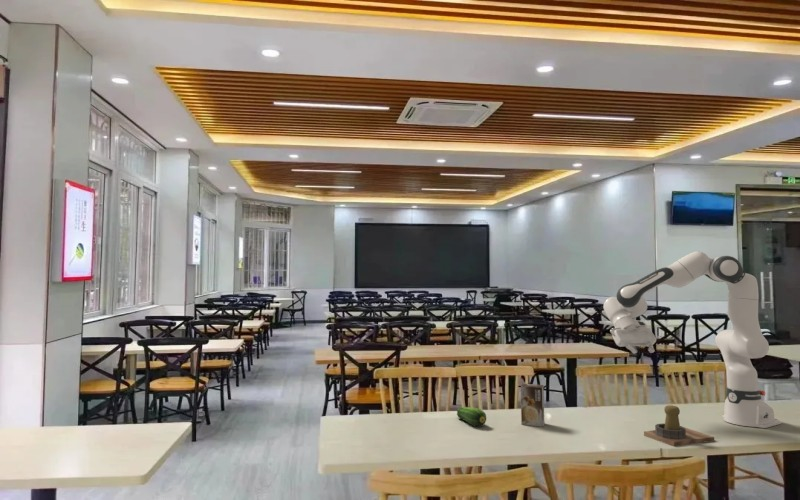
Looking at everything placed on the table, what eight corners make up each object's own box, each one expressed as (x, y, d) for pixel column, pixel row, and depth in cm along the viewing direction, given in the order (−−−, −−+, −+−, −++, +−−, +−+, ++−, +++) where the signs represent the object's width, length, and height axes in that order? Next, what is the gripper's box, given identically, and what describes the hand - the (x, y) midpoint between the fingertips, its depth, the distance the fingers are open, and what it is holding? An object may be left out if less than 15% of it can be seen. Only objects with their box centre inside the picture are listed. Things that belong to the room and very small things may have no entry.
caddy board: (683, 430, 210) (682, 419, 210) (714, 440, 197) (713, 428, 197) (644, 435, 203) (643, 423, 204) (673, 446, 190) (673, 433, 190)
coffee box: (545, 423, 220) (544, 384, 221) (543, 427, 215) (542, 387, 215) (523, 420, 224) (522, 383, 225) (520, 424, 218) (520, 385, 219)
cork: (684, 437, 195) (683, 408, 195) (666, 437, 196) (666, 407, 196) (678, 433, 201) (677, 404, 201) (661, 432, 202) (660, 403, 202)
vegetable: (478, 407, 212) (455, 398, 231) (471, 424, 211) (449, 413, 229) (492, 414, 214) (468, 404, 233) (485, 431, 213) (462, 419, 231)
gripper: (611, 323, 230) (628, 348, 221) (648, 322, 237) (666, 346, 227) (605, 332, 234) (621, 357, 225) (640, 331, 241) (658, 355, 231)
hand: (644, 352), depth 226 cm, fingers open, 8 cm apart
